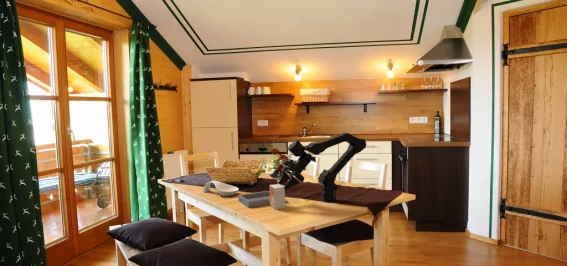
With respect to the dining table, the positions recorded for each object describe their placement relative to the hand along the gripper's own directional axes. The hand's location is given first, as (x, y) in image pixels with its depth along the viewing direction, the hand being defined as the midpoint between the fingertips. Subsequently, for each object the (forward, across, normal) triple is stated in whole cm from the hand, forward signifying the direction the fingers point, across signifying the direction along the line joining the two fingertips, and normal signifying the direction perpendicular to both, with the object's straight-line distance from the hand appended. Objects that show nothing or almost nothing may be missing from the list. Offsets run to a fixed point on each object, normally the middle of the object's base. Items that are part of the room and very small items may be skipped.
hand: (281, 186), depth 186 cm
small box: (+9, 0, +5) cm, 10 cm away
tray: (+12, -14, +2) cm, 18 cm away
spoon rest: (+24, -40, -10) cm, 48 cm away
